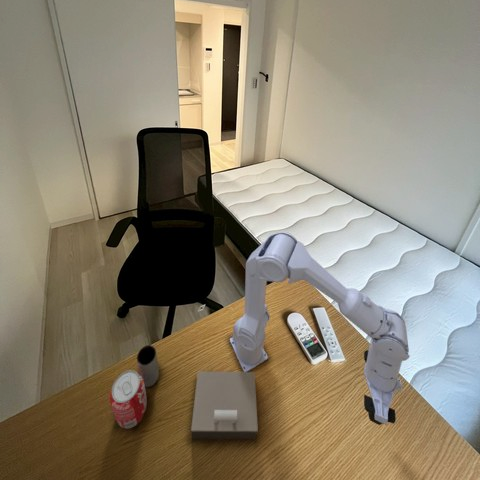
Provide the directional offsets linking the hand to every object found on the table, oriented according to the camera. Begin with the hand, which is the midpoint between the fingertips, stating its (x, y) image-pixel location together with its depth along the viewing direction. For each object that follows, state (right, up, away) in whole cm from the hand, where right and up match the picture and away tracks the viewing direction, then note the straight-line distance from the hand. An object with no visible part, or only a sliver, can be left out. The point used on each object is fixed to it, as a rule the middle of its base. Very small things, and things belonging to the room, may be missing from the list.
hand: (374, 400), depth 56 cm
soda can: (-57, -6, +3) cm, 57 cm away
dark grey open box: (-35, -7, +5) cm, 36 cm away
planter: (-55, -3, +9) cm, 56 cm away
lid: (-34, -2, +2) cm, 35 cm away
